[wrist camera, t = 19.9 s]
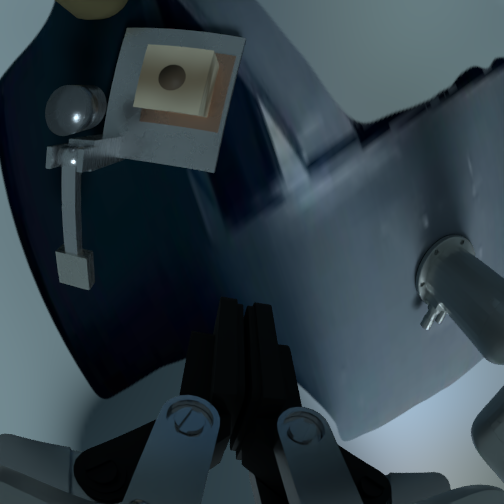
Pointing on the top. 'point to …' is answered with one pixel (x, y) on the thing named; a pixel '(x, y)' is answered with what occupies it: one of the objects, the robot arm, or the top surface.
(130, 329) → the top surface
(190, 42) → the press
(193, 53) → the maple block
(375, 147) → the top surface
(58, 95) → the press lever
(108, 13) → the squeeze bottle
